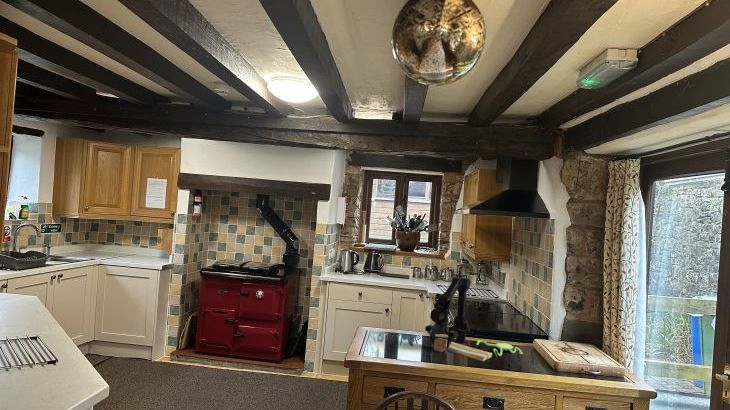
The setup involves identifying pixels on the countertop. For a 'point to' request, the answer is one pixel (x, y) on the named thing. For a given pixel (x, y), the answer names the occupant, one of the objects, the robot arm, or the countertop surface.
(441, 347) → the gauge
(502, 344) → the figurine
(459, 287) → the robot arm
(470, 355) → the board
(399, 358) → the countertop surface
